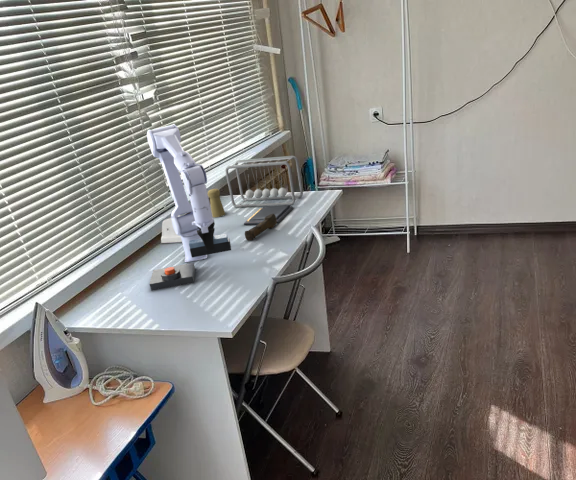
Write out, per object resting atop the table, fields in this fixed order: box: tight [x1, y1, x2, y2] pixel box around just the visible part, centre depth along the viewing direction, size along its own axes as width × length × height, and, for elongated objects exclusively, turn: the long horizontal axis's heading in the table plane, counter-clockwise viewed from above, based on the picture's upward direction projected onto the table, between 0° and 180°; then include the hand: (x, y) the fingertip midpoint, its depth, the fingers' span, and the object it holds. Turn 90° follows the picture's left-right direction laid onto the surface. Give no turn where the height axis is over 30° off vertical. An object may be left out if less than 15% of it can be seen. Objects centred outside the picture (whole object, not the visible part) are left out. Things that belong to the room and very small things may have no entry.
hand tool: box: [244, 214, 278, 242], centre depth 229 cm, size 19×4×5 cm, turn 146°
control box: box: [149, 262, 196, 292], centre depth 201 cm, size 13×14×4 cm
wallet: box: [243, 205, 294, 226], centre depth 246 cm, size 20×2×15 cm
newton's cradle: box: [224, 155, 304, 209], centre depth 260 cm, size 30×10×18 cm, turn 68°
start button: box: [165, 266, 175, 275], centre depth 196 cm, size 3×3×2 cm
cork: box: [207, 188, 226, 218], centre depth 257 cm, size 6×6×11 cm
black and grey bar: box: [189, 233, 232, 258], centre depth 197 cm, size 4×13×4 cm, turn 96°
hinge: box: [160, 215, 182, 244], centre depth 237 cm, size 17×5×10 cm, turn 73°
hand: (210, 247), depth 197 cm, fingers closed on black and grey bar, 4 cm apart
